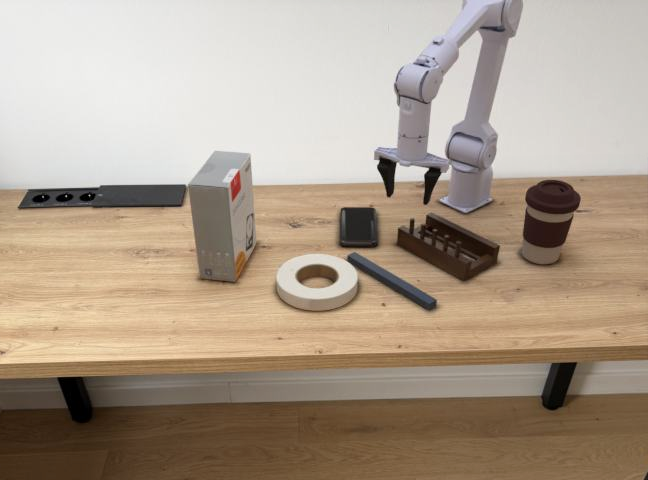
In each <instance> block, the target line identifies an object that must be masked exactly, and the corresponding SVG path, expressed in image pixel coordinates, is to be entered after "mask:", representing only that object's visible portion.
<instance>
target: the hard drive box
mask: <svg viewBox="0 0 648 480" xmlns="http://www.w3.org/2000/svg"><path fill="white" fill-rule="evenodd" d="M251 156H252V154H251V153H250V152H237V151H225V150H214V151H213V152H212V153H211V155H210V156H209V158H208V159H207V160H206V161H205V163H204V164H202V166H201V167H200V169H199V170H198V171H197V173H196V174H195V175H194V176H193V178H192V179H191V180H190V181H189V183H188V185H187V189H188V197H189V205H190V212H191V220H192V228H193V236H194V245H195V254H196V261H197V262H196V263H197V270H198V277H199V278H200V279H203V280H205V279H206V280H215V281H221V282H222V281H224V282H233V283H236V281H237V280H238V279H239V276H240V275H241V273H242V272H243V269H244V268H245V265H246V264H247V262H248V260H249V258H250V256H251V255H252V253H253V251H254V249H255V247H256V244H257V241H258V240H257V229H256V227H257V226H256V215H255V213H256V212H255V199H254V184H253V172H252V170H253V169H252V157H251Z"/></svg>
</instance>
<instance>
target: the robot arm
mask: <svg viewBox="0 0 648 480" xmlns="http://www.w3.org/2000/svg"><path fill="white" fill-rule="evenodd" d="M523 8H524V1H523V0H462V4H461V11H460V12H459V13H458V15H457V16H456V18H455V19H454V21H453V22H452V24H451V25H450V26H449V28H448V29H447V31H446V32H445V34H444V35H443V34H440V35H436V36H435V37H433V39H431V41H430V42H429V43H428V45H427V46H425V48H424V49H423V50H422V51H421V52H420V54H419V55H418V56H417V58H416V59H414V61H413V62H412V63H410V62H409V63H407V64H405V65H402V66H401V67H400V68H399V69H398V71H397V73H396V76H395V81H394V82H393V91H394V94H395V95H396V104H397V105H396V106H398V107H399V109H398V123H397V125H398V126H397V140H396V141H397V142H396V147H383V146H377V147H376V148H375V149H374V151H373V160H374V161H378V163H377V164H376V170H377V171H378V173H379V175H380V177H381V179H382V181H383V185H384V188H385V189H384V190H385V193H386V197H387V198H391V197H392V196H393V195H394V193H395V180H396V179H395V178H396V169H397V164H399V166H401V167H406V168H410V167H411V166H413V167H414V166H415V167H419V168H425V169H428V170H426V171H425V172H424V174H423V179H424V180H423V181H424V190H423V191H424V194H423V198H422V199H423V200H422V204H423V205H424V206H427V205H429V203H430V202H431V198H432V196H433V195H432V194H433V191H434V189H435V187H436V185H437V183H438V180H440V177H441V176H442V174H446V173H447V172H448V171H449V169H450V166H451V169H450V177H449V185H448V194H447V195H446V196H443V197H442V198H439V203H442V204H444V205H446V206H448V207H450V208H452V209H454V210H457V211H459V212H460V213H463V214H468V213H470V212H473V211H474V210H476V209H478V208H481V207H483V206H484V205H486V204H489V203H490V202H493V198H492V197H490V196H491V191H492V184H493V177H494V171H493V168H492V165H493V163H494V161H495V159H496V155H497V150H498V149H497V146H498V138H499V134H498V132H497V131H496V130H495V129H494V127H493V126H492V125H491V123H490V117H491V114H492V109H493V105H494V101H495V99H496V98H495V97H496V95H497V89H498V85H499V81H500V77H501V74H502V69H503V66H504V65H503V64H504V60H505V57H506V53H507V50H508V49H507V48H508V44H509V41H510V39H512V38H515V37H516V35H517V32H518V29H519V26H520V21H521V18H522V17H521V16H522V13H523ZM476 32H478V33H479V35H480V37H481V39H482V41H481V46H480V50H479V55H478V58H477V62H476V67H475V71H474V75H473V80H472V83H471V84H472V85H471V89H470V94H469V97H468V102H467V105H466V106H467V107H466V111H465V115H464V119H462V120H460V121H458V122H457V123H455V124H453V125H452V127H451V130H450V133H449V136H448V138H447V140H446V141H445V146H444V155H445V158H444V157H441V156H439V155H436V154H434V153H430V152H428V146H429V135H430V123H431V111H432V102H433V101H434V99H436V98H437V96H438V94H439V91H440V89H441V85H442V84H443V81H444V76H445V75H446V74H447V73H448V71H450V69H451V68H452V67H453V66H454V64H455V63H456V62H457V61H458V59H459V56H460V50H459V49H460V48H461V47H462V46H463V45H464V44H465V43H466V42H467V41H468V40H469V39H470V38H471V37H472V36H473V35H474V34H475V33H476Z"/></svg>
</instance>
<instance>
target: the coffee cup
mask: <svg viewBox="0 0 648 480" xmlns="http://www.w3.org/2000/svg"><path fill="white" fill-rule="evenodd" d="M581 199H582V198H581V195H580V193H579V192H578V191H576V190H575V189H574V187H573V186H572V185H571V184H570V183H568V182H566V181H563V180H559V179H544V180H541V181H539V182H537V183H536V184H534V185H532V186H530V187H529V188H527V189H526V191H525V197H524V200H525V203H526V208H525V212H524V220H523V221H524V222H523V227H522V228H523V229H522V247H521V254H522V257H523V258H524V259H525V260H527V261H528V262H530V263H533V264H537V265H550V264H553V263H555V262H557V261H558V260H559V258H560V256H561V252H562V250H563V246H564V244H565V242H566V241H567V237H568V235H569V231H570V229H571V226H572V223H573V220H574V216H575V213H574V212H575V211H577V210H578V209H579V207H580V205H581Z"/></svg>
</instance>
